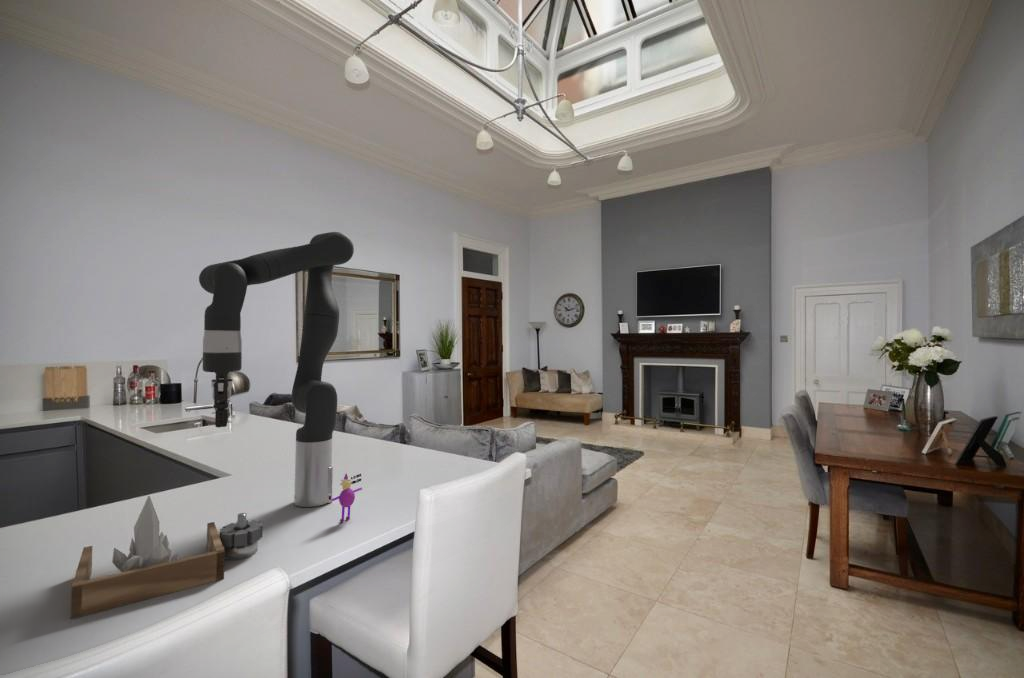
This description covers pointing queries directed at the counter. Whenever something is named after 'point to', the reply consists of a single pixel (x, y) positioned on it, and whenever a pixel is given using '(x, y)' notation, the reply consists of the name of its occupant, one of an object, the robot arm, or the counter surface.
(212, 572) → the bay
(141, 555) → the crystal
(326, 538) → the counter surface
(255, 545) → the axle mount
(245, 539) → the wheel
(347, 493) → the wizard figurine
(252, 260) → the robot arm
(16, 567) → the counter surface
